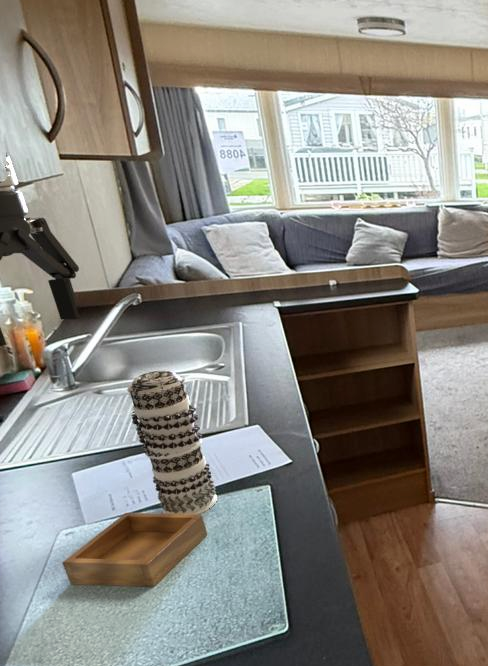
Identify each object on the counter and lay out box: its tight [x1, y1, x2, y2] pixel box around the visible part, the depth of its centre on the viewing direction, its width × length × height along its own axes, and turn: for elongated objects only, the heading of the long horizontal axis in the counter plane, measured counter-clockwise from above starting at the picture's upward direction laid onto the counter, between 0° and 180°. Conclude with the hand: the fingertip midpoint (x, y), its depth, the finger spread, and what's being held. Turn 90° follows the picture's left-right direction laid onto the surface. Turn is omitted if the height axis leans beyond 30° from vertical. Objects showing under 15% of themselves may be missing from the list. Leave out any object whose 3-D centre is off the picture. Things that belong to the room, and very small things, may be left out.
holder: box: [61, 512, 208, 588], centre depth 102 cm, size 13×13×4 cm
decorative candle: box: [126, 370, 218, 515], centre depth 112 cm, size 9×9×25 cm
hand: (35, 331), depth 101 cm, fingers open, 13 cm apart
